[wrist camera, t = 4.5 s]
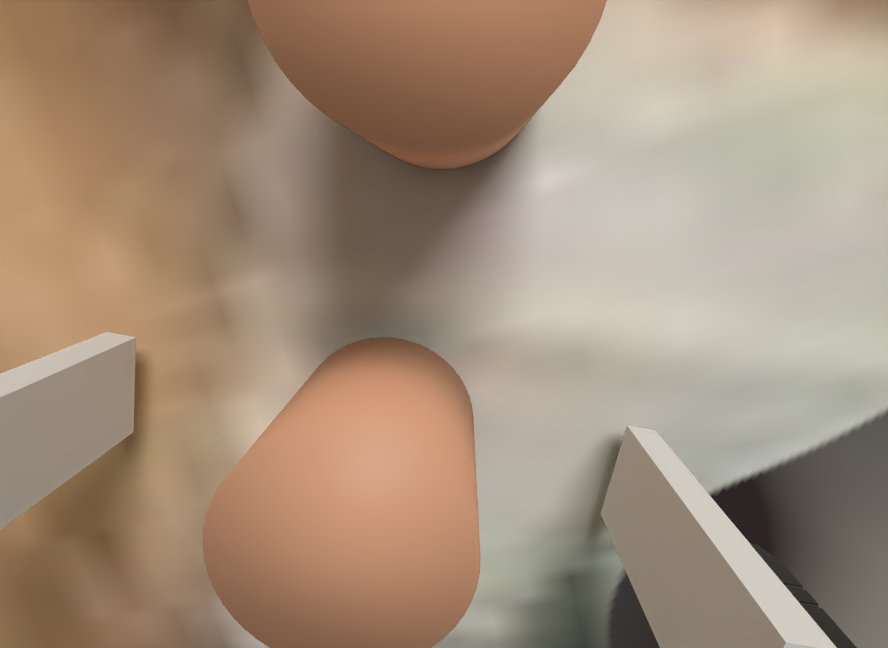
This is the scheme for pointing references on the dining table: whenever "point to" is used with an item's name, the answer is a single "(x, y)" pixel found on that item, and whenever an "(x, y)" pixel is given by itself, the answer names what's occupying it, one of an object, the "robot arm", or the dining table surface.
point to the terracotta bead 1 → (428, 67)
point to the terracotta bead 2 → (354, 508)
